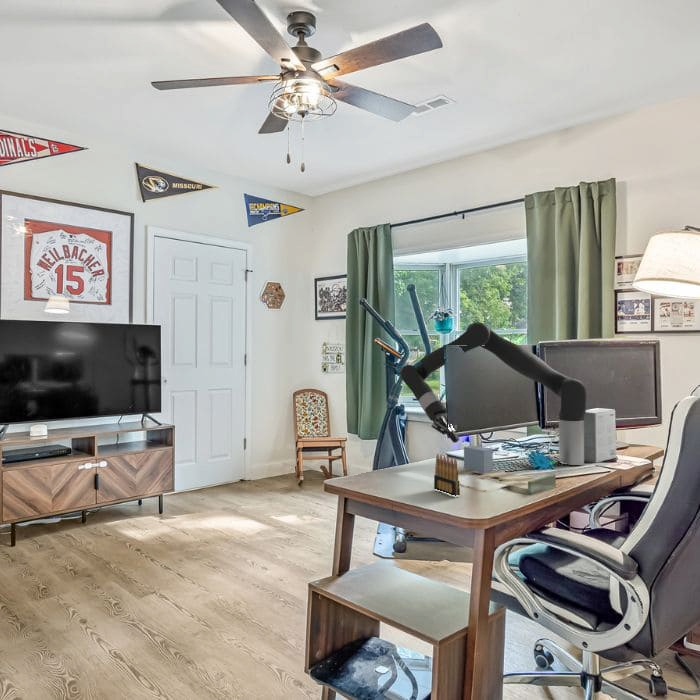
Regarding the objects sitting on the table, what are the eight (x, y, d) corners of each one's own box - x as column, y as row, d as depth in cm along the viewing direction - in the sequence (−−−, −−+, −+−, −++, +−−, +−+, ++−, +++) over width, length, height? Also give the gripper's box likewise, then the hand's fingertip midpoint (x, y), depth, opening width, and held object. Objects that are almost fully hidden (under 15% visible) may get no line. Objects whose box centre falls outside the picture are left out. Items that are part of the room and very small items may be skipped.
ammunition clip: (433, 490, 181) (433, 453, 181) (438, 489, 182) (438, 452, 182) (455, 498, 172) (455, 459, 172) (460, 497, 173) (459, 458, 172)
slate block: (464, 468, 205) (463, 447, 205) (472, 466, 208) (472, 445, 208) (484, 473, 198) (484, 450, 198) (492, 470, 201) (492, 448, 201)
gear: (535, 471, 200) (526, 447, 207) (527, 479, 204) (519, 456, 211) (562, 473, 202) (552, 450, 209) (553, 482, 206) (544, 459, 213)
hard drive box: (599, 455, 234) (598, 407, 234) (616, 458, 228) (616, 409, 228) (577, 460, 225) (577, 410, 225) (595, 463, 219) (595, 412, 219)
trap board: (449, 475, 200) (449, 464, 200) (477, 469, 210) (477, 458, 210) (531, 494, 175) (531, 482, 175) (559, 486, 185) (558, 474, 185)
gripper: (425, 401, 213) (450, 437, 204) (448, 398, 222) (473, 433, 212) (415, 413, 217) (439, 449, 208) (438, 410, 226) (462, 445, 217)
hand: (456, 441), depth 210 cm, fingers closed
